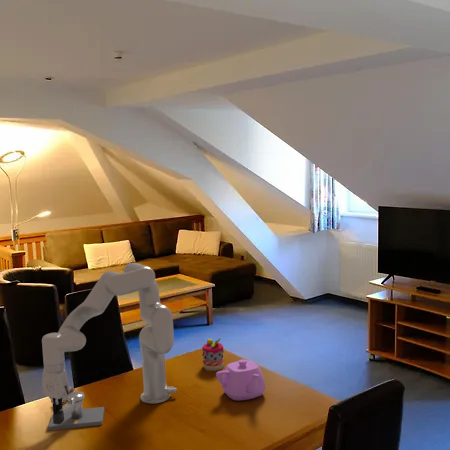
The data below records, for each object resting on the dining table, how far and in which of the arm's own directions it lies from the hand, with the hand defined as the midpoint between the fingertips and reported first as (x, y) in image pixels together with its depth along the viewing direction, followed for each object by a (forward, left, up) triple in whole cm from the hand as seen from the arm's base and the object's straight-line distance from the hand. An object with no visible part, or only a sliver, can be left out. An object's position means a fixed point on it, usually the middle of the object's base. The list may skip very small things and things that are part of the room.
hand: (58, 412), depth 192 cm
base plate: (-6, -6, -7) cm, 11 cm away
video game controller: (+2, -25, -7) cm, 26 cm away
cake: (-66, -46, -7) cm, 81 cm away
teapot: (-75, -13, -7) cm, 76 cm away
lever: (-4, -2, -5) cm, 7 cm away
